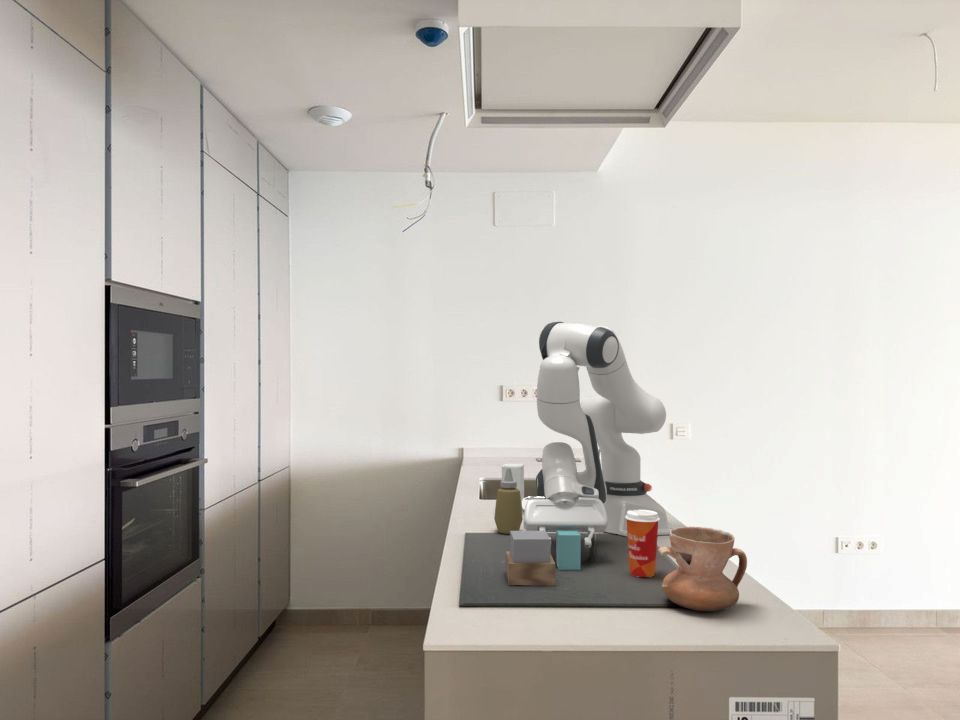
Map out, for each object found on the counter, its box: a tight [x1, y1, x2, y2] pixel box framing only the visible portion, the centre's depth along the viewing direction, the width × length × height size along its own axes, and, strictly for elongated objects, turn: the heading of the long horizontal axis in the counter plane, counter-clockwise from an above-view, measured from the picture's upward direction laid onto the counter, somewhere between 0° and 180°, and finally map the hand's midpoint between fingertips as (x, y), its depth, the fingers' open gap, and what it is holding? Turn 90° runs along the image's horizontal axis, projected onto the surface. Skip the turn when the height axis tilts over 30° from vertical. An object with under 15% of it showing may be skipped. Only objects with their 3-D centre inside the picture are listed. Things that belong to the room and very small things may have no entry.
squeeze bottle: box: [494, 468, 524, 535], centre depth 196 cm, size 8×8×18 cm
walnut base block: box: [505, 550, 556, 587], centre depth 152 cm, size 10×10×5 cm
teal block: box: [555, 530, 582, 571], centre depth 162 cm, size 5×5×8 cm
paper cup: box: [625, 510, 660, 578], centre depth 156 cm, size 8×8×14 cm
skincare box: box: [501, 463, 525, 514], centre depth 222 cm, size 8×7×16 cm
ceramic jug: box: [658, 525, 748, 612], centre depth 136 cm, size 18×14×14 cm
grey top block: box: [509, 530, 552, 563], centre depth 152 cm, size 8×8×5 cm
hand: (567, 546), depth 161 cm, fingers open, 8 cm apart
